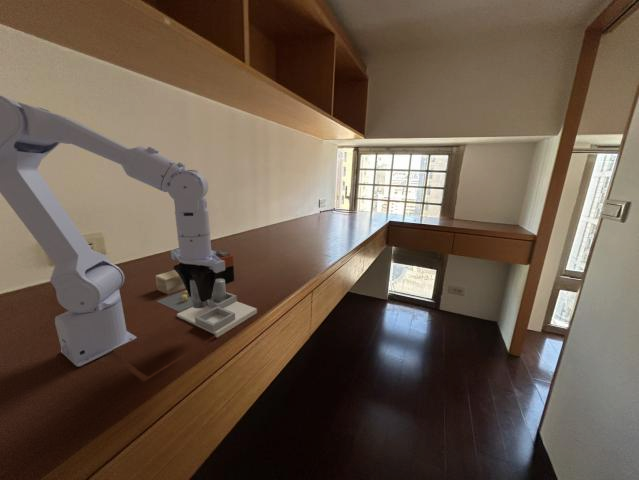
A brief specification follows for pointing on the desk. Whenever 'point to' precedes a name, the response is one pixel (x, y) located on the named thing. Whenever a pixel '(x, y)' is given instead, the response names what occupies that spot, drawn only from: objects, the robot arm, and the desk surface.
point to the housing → (169, 282)
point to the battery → (226, 266)
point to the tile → (177, 301)
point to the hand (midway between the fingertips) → (200, 297)
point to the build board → (219, 311)
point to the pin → (196, 295)
